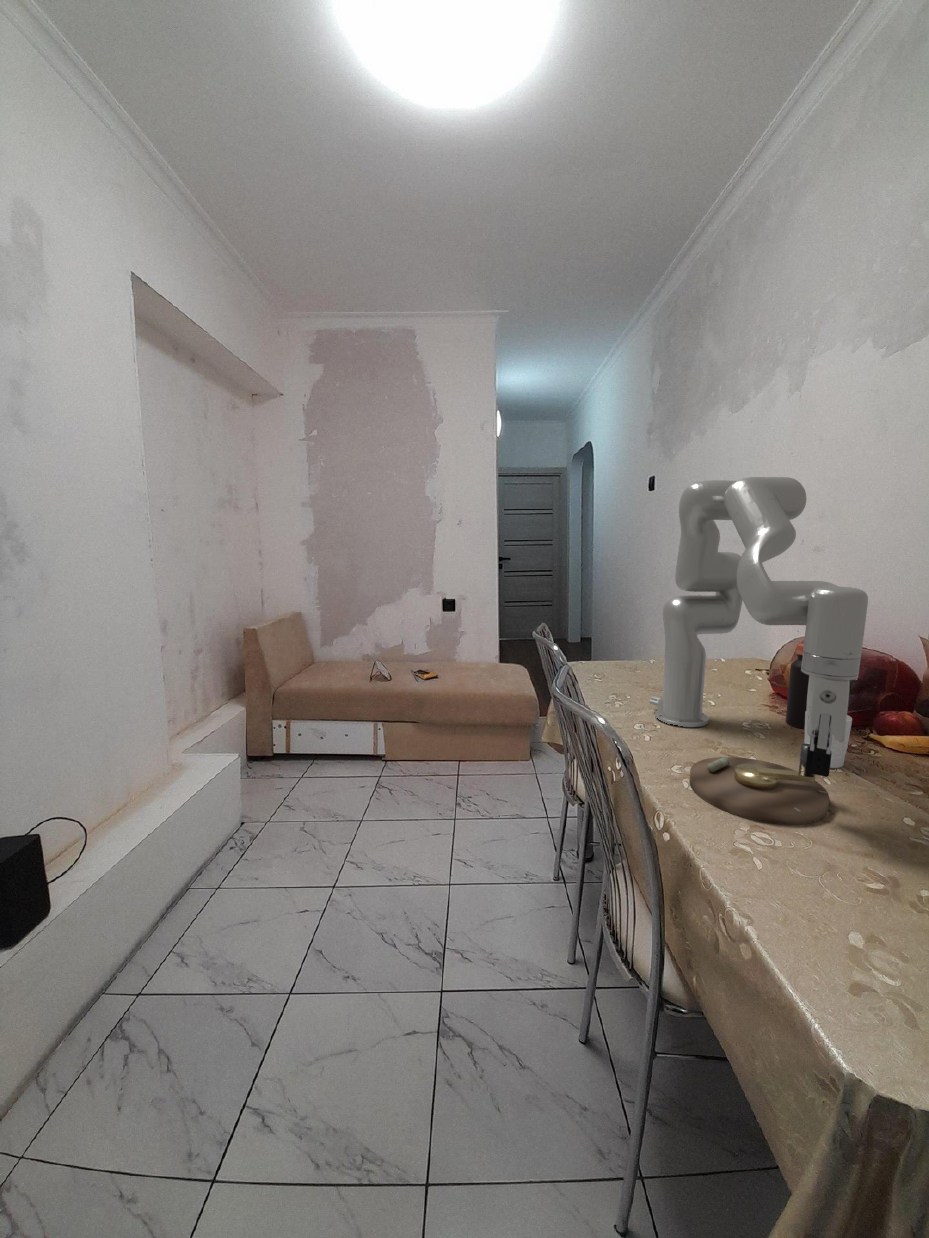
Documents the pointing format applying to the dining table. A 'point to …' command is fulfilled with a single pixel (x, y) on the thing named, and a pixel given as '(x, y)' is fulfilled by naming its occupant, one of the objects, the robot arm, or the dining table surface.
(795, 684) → the bottle
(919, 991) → the dining table surface
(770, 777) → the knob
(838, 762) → the white cup
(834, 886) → the dining table surface
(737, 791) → the base plate
